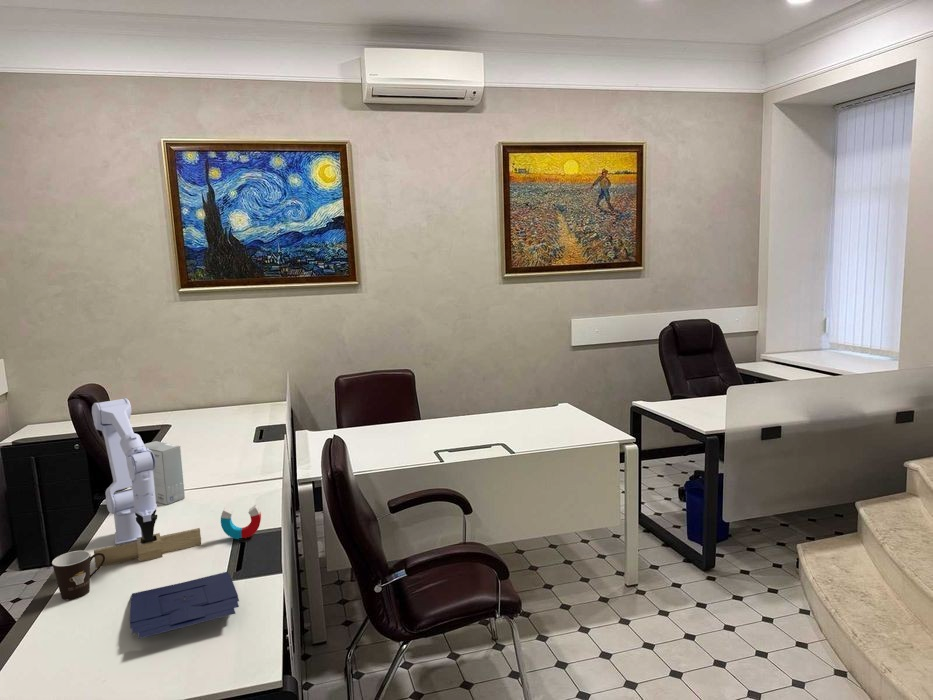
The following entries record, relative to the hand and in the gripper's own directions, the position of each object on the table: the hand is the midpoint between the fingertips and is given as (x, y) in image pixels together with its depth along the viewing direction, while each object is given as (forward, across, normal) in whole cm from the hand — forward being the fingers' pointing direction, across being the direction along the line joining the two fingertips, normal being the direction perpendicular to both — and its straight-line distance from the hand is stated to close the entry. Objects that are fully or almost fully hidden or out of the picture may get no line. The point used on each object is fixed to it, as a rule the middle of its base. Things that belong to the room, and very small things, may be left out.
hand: (148, 536), depth 188 cm
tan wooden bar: (+6, 0, 0) cm, 6 cm away
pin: (+2, 0, 0) cm, 2 cm away
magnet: (+6, +2, +26) cm, 27 cm away
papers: (+6, +38, +6) cm, 39 cm away
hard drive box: (+6, -48, +7) cm, 49 cm away
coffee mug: (+6, +14, -17) cm, 23 cm away
